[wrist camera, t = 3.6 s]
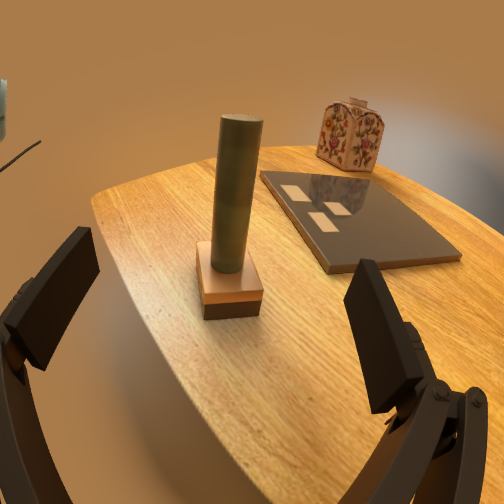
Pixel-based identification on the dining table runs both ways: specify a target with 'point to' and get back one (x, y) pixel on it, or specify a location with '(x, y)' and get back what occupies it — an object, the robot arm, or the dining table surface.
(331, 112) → the decorative jar
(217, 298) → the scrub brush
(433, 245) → the tile
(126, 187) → the dining table surface
